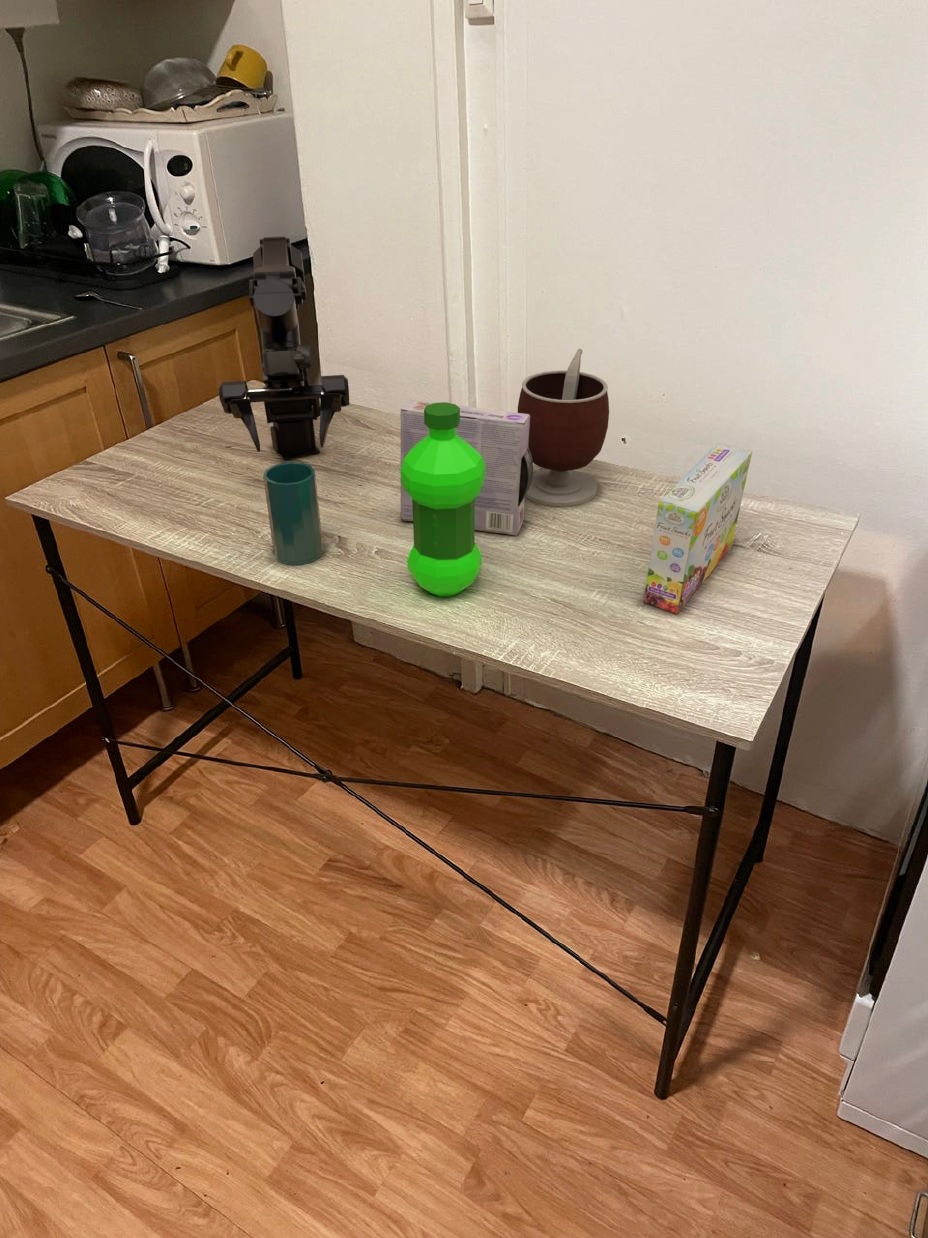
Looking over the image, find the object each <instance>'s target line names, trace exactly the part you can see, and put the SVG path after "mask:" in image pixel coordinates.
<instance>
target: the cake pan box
mask: <svg viewBox="0 0 928 1238" xmlns="http://www.w3.org/2000/svg"><path fill="white" fill-rule="evenodd" d="M433 403H434V402H431V401H422V400H415V399H409V400H407V401H406V403H404V404H403V405H402V407H400V417H399V418H400V459H399V460H400V465H399V466H400V469H401V466H402V463H403V460H404V458H405V457H406V455H407V454H408V452H409V451H410V449H411V448H413V447H414V446H415V445H416V444H417V443H418V442H420V441H421V440H422V439H423V438H425V437H426V436H428V435H429V428H428V427H427V426H426V425H425V424H424V409H425V407H426V406H427V405H430V404H433ZM456 405H457V404H456ZM457 406H458V407H459V408H460V423H459V425H458V427H456V435H457V436H459V437H460V438H462V439H463V440H464V441H465V442H467V443H468V444H469V445H470V446H471V447H472V448H474V449H475V450H476V451H477V452H478V453H479V454H480V455H481V456H482V458H483V461H484V463H485V478H484V482H483V486H482V488H481V490H480V492H479V494H478V496H477V497H476V498H475V531H480V532H488V533H496V534H501V535H502V534H503V535H509V536H513V537H517V536H518V534H519V533H520V530H521V528H522V525H523V523H524V517H525V515H524V514H525V513H524V512H525V500H526V499H525V498H526V497H525V495H526V494H527V492H528V490H529V488H530V485H531V482H532V478H533V472H534V463H533V461H532V456H531V453H530V450H529V448H528V440H529V426H530V415H529V414H523V413H518V412H515V411H514V412H513V411H506V410H505V411H504V410H496V409H488V408H481V407H475V406H474V407H472V406H465V405H457ZM399 472H400V471H399ZM399 474H400V476H401V472H400V473H399ZM400 518H401V521H403V522H413V509H412V498H411V497H410V495H409V494H408V493H407V492H406V491H405V490H404V488H403V485H402V481H401V480H400Z"/></svg>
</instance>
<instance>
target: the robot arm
mask: <svg viewBox="0 0 928 1238" xmlns="http://www.w3.org/2000/svg"><path fill="white" fill-rule="evenodd" d="M290 239H291V238H290V237H287V236H285V235H284V236H264V237H262V238H259V247H258V248H257V249H256V250H255V251H254V252H253V253H252V260H253V275H252V276H253V279H249V283H248V284H249V286H248V287H249V288H248V289H249V290H248V299H249V303H250V307H252V308H253V307H254V309H255V313H256V318H257V323H258V325H259V329H260V339H261V340H260V341H261V351H262V353H261V355H262V364H261V371H262V382H263V384H264V387H261V388H259V387H258V388H248V384H247V381H246V380H234V381H232V380H231V381H222V382H221V383H220V385H218V398H219V401H220V404H221V407H222V410H223V413H224V414H228V415H232V416H233V418H234V419H240V420H241V421H242V423H243V424H244V426H245V427H246V429H247V431H248V433H249V435H250V437H251V440H252V442H253V445H254V447H255V449H256V452H257V453H260V452H261V443H260V437H259V433H258V429H257V424H256V420H255V415H254V411H253V408H252V403H263V404H264V411H265V412H264V413H265V418H266V423H267V424H271V423H272V426H270V428H269V429H270V436H271V437H270V438H271V445H272V449H273V450H274V452H275V453H277V454H278V455H279V456H280V457H281V458H282V459H283V460H284V461H290V460H295V459H298V458H299V459H300V458H303V457H307V456H311V455H316V454H320V453H321V450H320V448H324V445H325V442H326V439H327V435H328V431H329V428H330V425H331V422H332V420H333V418H334V415H335V413H340V412H341V411H342V408H344V407H345V408H346V407H348V406H350V387H349V379H348V378H347V376H346V375H344V374H334V375H332V374H331V375H321V376H320V382H321V384H310V375H309V370H308V369H312V367H313V366H312V359H311V358H312V356H311V347H310V344H301V337H300V335H301V334H300V324H299V318H298V312H297V311H298V310H299V308H300V307H299V305H303V302H304V301H306V300H307V291H306V285H305V284H304V283H306V282H305V271H304V261H303V254H302V251H301V250H299V249H298V248H296V247H295V246H294V245H292V244H291V240H290ZM318 418H319V431H318V434H319V435H318V436H319V446H320V448H319V447H318V446H317V444H316V435H315V425H314V421H318Z"/></svg>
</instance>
